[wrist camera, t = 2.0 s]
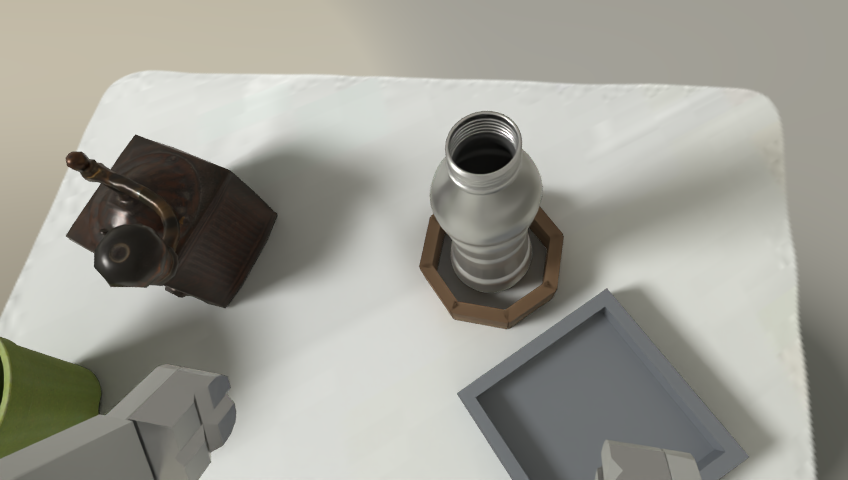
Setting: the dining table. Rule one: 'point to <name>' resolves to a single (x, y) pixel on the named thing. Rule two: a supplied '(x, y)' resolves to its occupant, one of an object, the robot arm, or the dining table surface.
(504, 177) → the plastic bottle
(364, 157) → the dining table surface
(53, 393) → the plant pot
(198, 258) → the manual coffee grinder
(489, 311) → the walnut collar
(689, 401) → the charcoal tray
